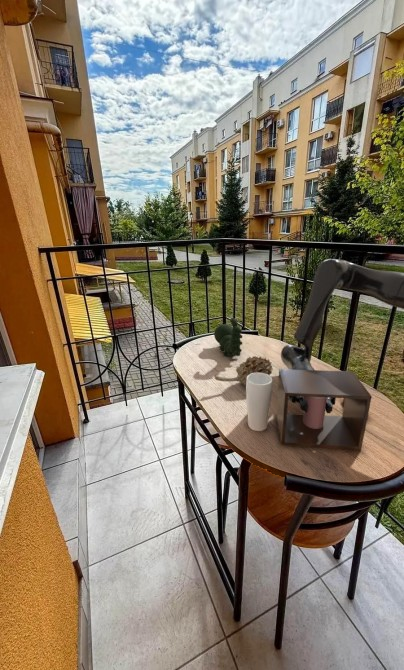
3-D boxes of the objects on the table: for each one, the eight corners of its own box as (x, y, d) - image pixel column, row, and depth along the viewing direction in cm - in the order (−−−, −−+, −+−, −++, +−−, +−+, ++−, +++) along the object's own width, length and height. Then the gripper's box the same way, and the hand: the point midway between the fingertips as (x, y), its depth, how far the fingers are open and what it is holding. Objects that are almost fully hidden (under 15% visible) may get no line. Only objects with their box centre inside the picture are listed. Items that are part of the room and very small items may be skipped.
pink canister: (320, 417, 79) (324, 386, 75) (326, 429, 74) (330, 397, 70) (301, 416, 80) (304, 385, 76) (304, 428, 75) (308, 396, 71)
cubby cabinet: (344, 419, 79) (352, 371, 74) (361, 450, 68) (371, 396, 63) (276, 415, 82) (279, 369, 76) (281, 445, 71) (285, 392, 65)
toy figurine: (247, 363, 118) (228, 338, 140) (249, 322, 110) (229, 302, 132) (225, 366, 116) (210, 340, 138) (226, 324, 108) (210, 304, 130)
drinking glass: (273, 433, 75) (276, 383, 70) (248, 435, 75) (249, 385, 69) (265, 417, 81) (268, 371, 76) (242, 419, 81) (243, 373, 76)
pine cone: (262, 373, 106) (262, 349, 103) (277, 384, 98) (279, 358, 95) (209, 386, 99) (208, 361, 95) (221, 400, 90) (221, 373, 87)
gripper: (281, 366, 88) (290, 396, 72) (330, 367, 86) (349, 398, 70) (280, 387, 90) (288, 420, 75) (327, 389, 88) (345, 423, 72)
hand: (317, 409), depth 72 cm, fingers closed on pink canister, 5 cm apart
